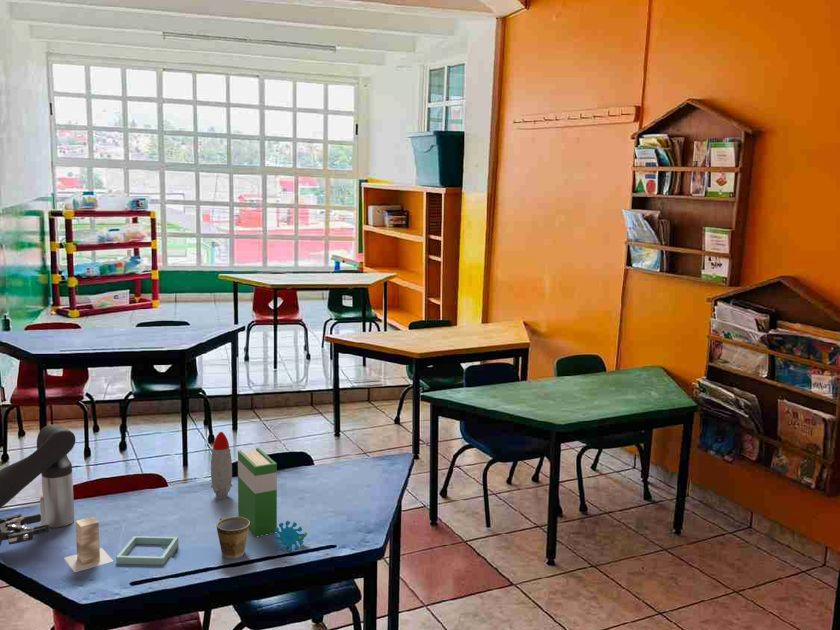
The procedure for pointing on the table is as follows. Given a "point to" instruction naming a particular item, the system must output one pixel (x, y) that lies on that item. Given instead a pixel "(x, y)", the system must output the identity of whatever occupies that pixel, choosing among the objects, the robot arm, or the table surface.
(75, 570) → the white board
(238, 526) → the ceramic cup
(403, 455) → the table surface
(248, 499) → the hardback book
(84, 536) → the birch block
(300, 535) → the teal virus model
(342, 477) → the table surface
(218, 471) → the toy rocket
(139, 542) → the tray
